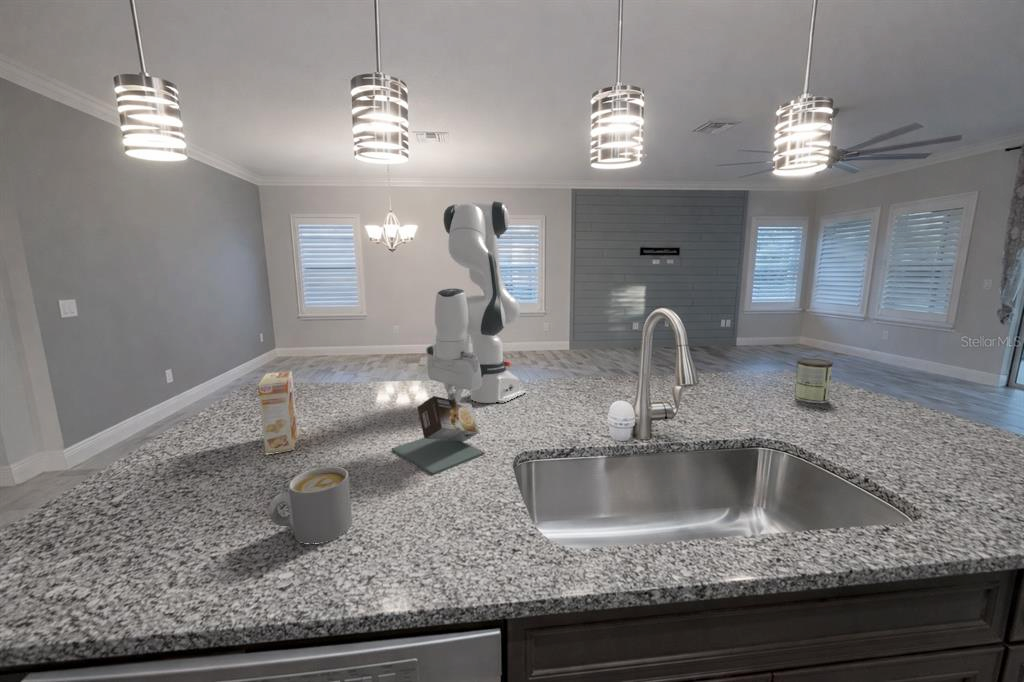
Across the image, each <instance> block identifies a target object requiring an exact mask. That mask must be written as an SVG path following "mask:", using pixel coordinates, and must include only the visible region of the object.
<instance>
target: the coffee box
mask: <svg viewBox="0 0 1024 682" xmlns="http://www.w3.org/2000/svg"><path fill="white" fill-rule="evenodd" d="M472 405H473V404H472V403H468V402H464V401H460V402H455V401H453V400H450V399H448V398H444V397H439V396H435V395H434V396H432V397H430V398H428V399H427V400H425V401H424V402H422V403H421V404H420V405H418V406H417V412H418V417H419V422H420V425H421V429H422V434H423V438H428V439H439V440H450V441H461V442H464V443H465V442H466V441H468V440H469V439H471V438H473V437H474V436H477V435H478V434H480V428H479V426H478V425H479V424H478V422H477V418H476V415H475V411H474V409H473V406H472Z"/></svg>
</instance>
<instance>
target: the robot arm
mask: <svg viewBox="0 0 1024 682" xmlns="http://www.w3.org/2000/svg"><path fill="white" fill-rule="evenodd" d="M442 220H443V226H444V230H445V232H446V233H447V234H448V252H449V255H450V257H451V258H452V259H453V260H454V261H455V263H457V264H458V265H460V266H461V267H464V268H466V269H468V272H469V279H470V280H471V282H472V283H474V285H476V286H478V287H480V289H481V290H482V294H483V295H482V294H481V295H480V294H479V295H478V294H477V295H476V294H475V295H474V294H472V295H471V294H470V295H466V292H465V290H464V289H460V288H447V289H446V288H445V289H441V290H439V291H438V292H436V295H435V296H436V297H435V304H434V324H435V325H434V326H435V328H436V335H435V343H433V344H431V345H429V346H427V347H426V348H425V354H426V355H427V358H426V366H427V367H426V369H427V376H428V377H429V379H430V380H431V381H435V382H439V383H442V384H444V389H445V391H446V393H447V399H450V400H453V401H455V402H462V394H463V392H464V390H466V391H471V393H470V397H469V399H470V400H471V401H472V400H473V401H472V402H475V401H476V403H481V404H495V403H496V402H499V404H505V403H504V402H506V403H508V402H507V401H509V400H511V399H513V398H515V397H517V396H519V395H521V394H523V393H525V392H526V393H527V391H526V390H525V389H524V388H521V384H520V380H519V378H518V377H517V376H516V375H514V374H513V373H512V372H510V371H508V369H507V367H509V368H510V367H511V366H512V362H511V361H510V360H506V361H504V360H503V358H504V357H503V342H502V339H501V338H500V337H499V336H498V334H499V333H500V332H502V330H503V329H504V328H505V326H509V325H514V324H516V322H517V321H518V319H519V318H520V314H521V306H520V304H519V302H518V300H517V299H516V297H514V296H512V294H510V293H509V291H508V290H507V288H506V287H505V285H504V283H503V280H502V276H501V266H500V251H499V250H500V249H499V243H498V242H499V241H498V239H500V238H501V236H502V235H503V234H505V232H506V231H507V230H508V227H509V224H510V213H509V211H508V208H507V206H506V205H505V203H504V202H502V201H501V202H500V201H492V202H491V201H475V202H470V203H469V202H467V203H461V204H453V205H452V204H451V205H449V206H448V207H447V208H446V209H445V210H444V213H443V219H442ZM470 340H471V345H472V346H471V347H472V353H470ZM515 399H516V398H515ZM513 400H514V399H513ZM511 401H512V400H511ZM509 402H510V401H509ZM496 404H497V403H496Z"/></svg>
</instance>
